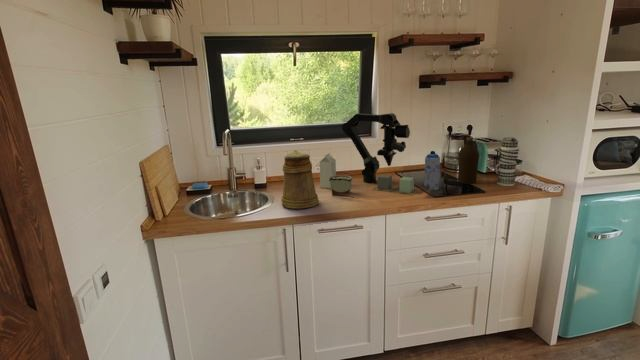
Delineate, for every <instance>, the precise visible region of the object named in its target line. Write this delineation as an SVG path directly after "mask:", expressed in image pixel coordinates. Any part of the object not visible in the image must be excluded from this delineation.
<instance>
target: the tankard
mask: <svg viewBox="0 0 640 360" xmlns="http://www.w3.org/2000/svg"><path fill="white" fill-rule="evenodd" d="M310 157H311V156H310V155H309V153H302V152H298V150H297V149H294V150H293V152H291V153H288V154H285V156H284V164H282V172H283V185H282V187H283V188H282V196H281V205H282V207H285V208H288V209H295V210H296V209H308V208H312V207H315V206H317V205H318V204H319V202H320V200H319V197H318V193H316V187H315V186H316V185H315V181H314V176H313V171H312V169H313V164H312V162H311V159H310Z"/></svg>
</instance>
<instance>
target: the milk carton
mask: <svg viewBox="0 0 640 360" xmlns="http://www.w3.org/2000/svg"><path fill="white" fill-rule="evenodd" d="M336 162H337V161H336V159H335V158H334V157H333V156H332V155H331V154H330V152H327V153H326V154H325V155H324V157H323V158H322V159H321V160H320V161H319V163H318V164H319V180H320V182H319V183H320V188H323V189H331V184H330V181H329V178H330V177H331V176H336V175H337V170H336V169H337V168H336V167H337V163H336Z"/></svg>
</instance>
